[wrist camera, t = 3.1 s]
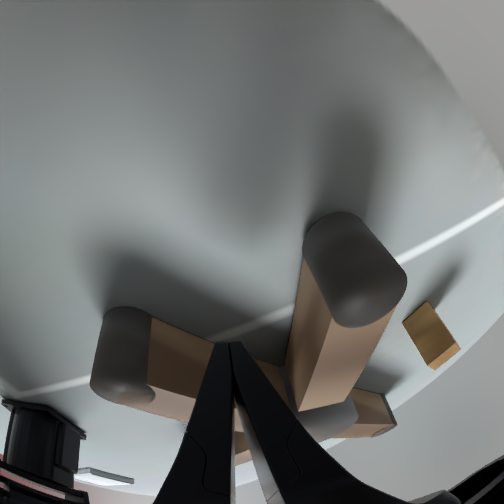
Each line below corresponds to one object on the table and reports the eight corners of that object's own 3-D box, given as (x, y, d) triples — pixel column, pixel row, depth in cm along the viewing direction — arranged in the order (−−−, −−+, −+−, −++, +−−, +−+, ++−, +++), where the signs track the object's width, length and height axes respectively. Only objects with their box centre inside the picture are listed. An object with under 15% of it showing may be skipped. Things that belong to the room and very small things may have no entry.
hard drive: (89, 473, 28) (67, 476, 32) (134, 484, 33) (105, 486, 36) (89, 464, 30) (67, 468, 33) (134, 476, 34) (105, 479, 37)
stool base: (286, 449, 27) (292, 476, 24) (57, 401, 16) (50, 443, 13) (458, 341, 20) (477, 372, 17) (246, 125, 8) (275, 161, 5)
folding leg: (328, 355, 15) (345, 400, 13) (282, 363, 15) (296, 412, 12) (372, 211, 10) (418, 260, 8) (307, 213, 10) (342, 268, 7)
